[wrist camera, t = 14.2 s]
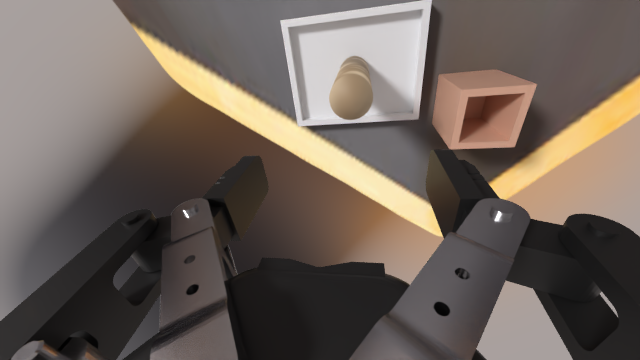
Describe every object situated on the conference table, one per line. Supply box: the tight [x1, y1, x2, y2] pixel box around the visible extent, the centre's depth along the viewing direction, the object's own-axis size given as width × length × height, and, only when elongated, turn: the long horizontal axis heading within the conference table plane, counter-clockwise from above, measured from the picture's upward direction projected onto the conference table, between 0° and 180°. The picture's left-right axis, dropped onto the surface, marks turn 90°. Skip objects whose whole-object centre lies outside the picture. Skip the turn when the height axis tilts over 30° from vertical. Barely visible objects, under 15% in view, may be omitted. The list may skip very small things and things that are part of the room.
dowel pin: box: [329, 56, 373, 120], centre depth 28 cm, size 4×4×14 cm
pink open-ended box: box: [432, 69, 537, 149], centre depth 30 cm, size 7×7×9 cm
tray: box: [281, 0, 432, 126], centre depth 33 cm, size 18×14×2 cm
